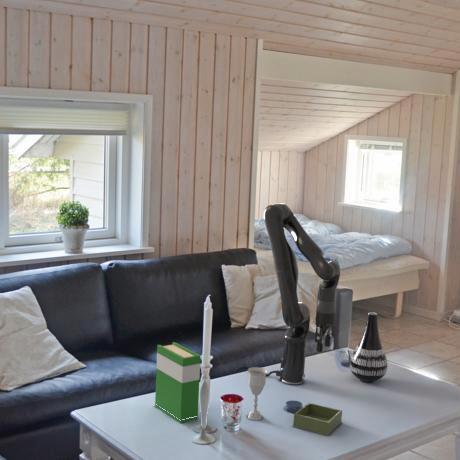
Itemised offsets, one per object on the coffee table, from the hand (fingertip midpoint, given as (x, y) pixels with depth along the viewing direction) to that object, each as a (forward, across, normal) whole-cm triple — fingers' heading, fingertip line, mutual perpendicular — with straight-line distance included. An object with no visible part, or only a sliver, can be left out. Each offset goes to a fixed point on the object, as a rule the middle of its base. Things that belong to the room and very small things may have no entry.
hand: (323, 349), depth 317 cm
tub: (+17, +35, +13) cm, 41 cm away
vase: (+17, -21, +13) cm, 30 cm away
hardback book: (+17, +55, -35) cm, 67 cm away
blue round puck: (+17, +27, 0) cm, 32 cm away
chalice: (+17, +42, -9) cm, 46 cm away
